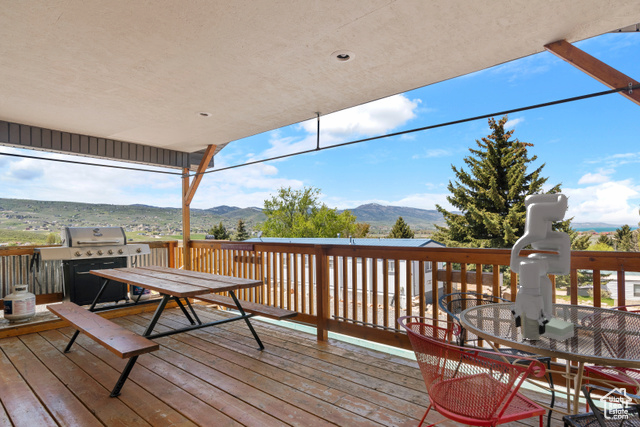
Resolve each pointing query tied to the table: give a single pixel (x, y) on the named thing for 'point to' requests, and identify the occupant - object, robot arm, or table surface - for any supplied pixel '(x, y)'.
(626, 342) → the table surface
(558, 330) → the top slab
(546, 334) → the bottom slab
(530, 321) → the skincare box
